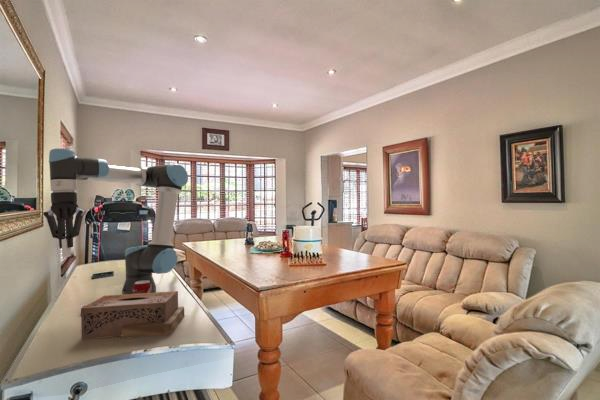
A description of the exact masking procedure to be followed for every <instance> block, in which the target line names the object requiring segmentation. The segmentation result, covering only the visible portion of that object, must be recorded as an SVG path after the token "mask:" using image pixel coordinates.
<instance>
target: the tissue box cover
mask: <svg viewBox="0 0 600 400" xmlns="http://www.w3.org/2000/svg"><path fill="white" fill-rule="evenodd" d="M178 307H179V291H178V290H175V291H174V290H172V291H158V292H157V291H156V292H154V293H140V294H125V295H122V294H115V295H114V294H112V295H111V294H110V295H103V296H101V297H100V298H97V299H96V300H94V301H92V302H91V303H88V304H87V305H85V306H82V307H81V308H80V312H81V314H80V316H81V317H80V318H81V319H80V321H81V323H80V324H81V325H80V326H81V328H80V329H81V330H80V331H81V332H80V333H81V340H88V339H89V340H91V339H102V338H101V337H104V338H112V337H111V336H116V337H122V336H121V335H122V326H124V325H128V324H141V323H154V322H166V321H167V320H168V319H169V318H170V317H171V316H172V315H173V313H174V312H175V311H176V310H177V309H178Z"/></svg>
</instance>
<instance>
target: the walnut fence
mask: <svg viewBox="0 0 600 400" xmlns="http://www.w3.org/2000/svg"><path fill="white" fill-rule="evenodd" d="M184 318H185V306H178V309H177V310H176V311H175V312H174V313H173V315H172V316H171V317H170V318H169V319H168V320H167V321H166V322H154V323H141V324H128V325H124V326H122V336H121V339H127V337H132V338H142V337H141V336H144V337H152V336H165V335H172V334H173V333H174V332H175V330H176V328H178V326H179V325H180V323H181V322H182V320H183V319H184Z"/></svg>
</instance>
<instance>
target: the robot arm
mask: <svg viewBox="0 0 600 400" xmlns="http://www.w3.org/2000/svg"><path fill="white" fill-rule="evenodd" d="M48 153H49V155H48V163H49V164H48V165H49V179H50V180H49V182H50V191H51V192H50V202H51V206H50V209H49V210H47V211H44V212H43V213H42V215H43V216H44V217H45V219H46V221H47V225H48V227H49V230H50V233H51V237H52V238H53V239H57V240H58V243H59V244H58V247H59V249H61V253H62V254H61V255H62V256H61V257H62V258H63V259H64V258H69V257H72V248H73V247H74V238H77V237H79V235H80V230H81V227H82V223H83V217H84V215H85V214H86V213H87V212H86V210H85V209H81V208H79V205H78V193H77V190H78V189H77V181H78V180H80V181H91V182H93V181H95V182H107V183H108V182H109V183H110V182H111V183H120V184H121V183H122V184H135V186H138V187H145V188H146V187H148V188H155V189H156V190H157V191H158V199H157V203H156V204H157V205H156V212H155V216H154V217H155V218H154V224H153V232H152V238H151V240H150V242H148V243H147V244H146V245H139V246H133V247H128V248H126V249H125V251H124V253H125V254H124V259H125V260H124V262H125V263H124V264H125V265H124V266H125V280H124V283H123V286H122V289H121V295H125V294H133V286H134V285H135V284H134V283H135V282H137V281H143V280H149V281H150V283H151V285H152V293H155V292H157V285H156V282H155V279H154V277H153V274H156V275H159V274H160V275H162V274H167V273H169V272H171V271H172V270H173V269H175V267H176V265H177V264H178V259H179V258H178V254H177V251H175V248H174V246H175V245H174V244H173V242H172V238H173V231H174V224H175V215H176V210H177V209H176V208H177V204H178V203H177V201H178V195H179V194H180V193H182V190H183V188H182V187H184V186H186V185H187V183H188V181H189V175H188V172H187V170H186V169H185V167H184V166H183V165H181V164H180V163H168V164H161V165H160V164H159V165H154V166H136V167H128V166H127V167H126V166H121V165H120V166H117V165H109V163H108V161H107V160H106V159H102V158H98V157H86V156H85V157H83V156H78V155H77V154H76V152H75V150H73V149H71V148H70V149H69V148H52V149H50V150H49V152H48ZM54 215H55V216H54ZM74 215H75V218H74ZM73 220H74V221H73Z"/></svg>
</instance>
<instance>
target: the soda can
mask: <svg viewBox="0 0 600 400" xmlns="http://www.w3.org/2000/svg"><path fill="white" fill-rule="evenodd" d="M134 284H135V285H134V286H133V294H140V293H152V285H151V283H150V281H149V280H143V281H137V282H135V283H134Z"/></svg>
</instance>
